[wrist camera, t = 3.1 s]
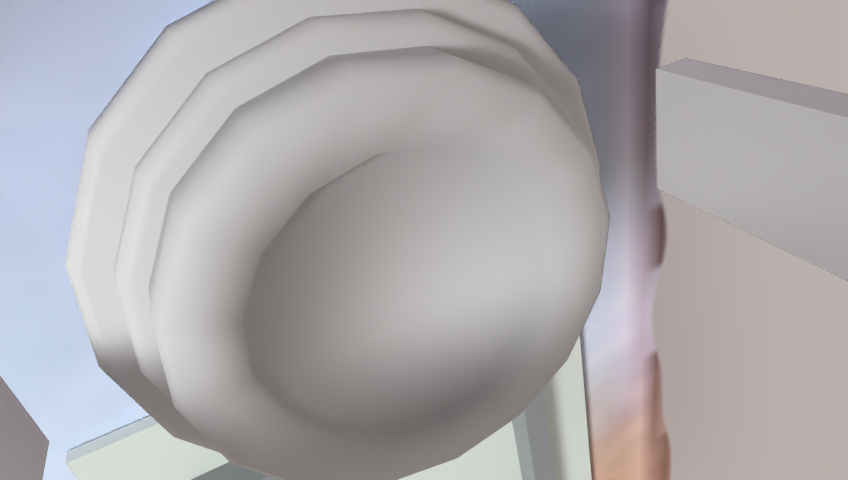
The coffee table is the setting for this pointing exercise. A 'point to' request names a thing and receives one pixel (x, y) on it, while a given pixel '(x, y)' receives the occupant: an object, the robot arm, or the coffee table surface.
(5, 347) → the coffee table surface
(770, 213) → the robot arm
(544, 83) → the coffee cup
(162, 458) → the square seat
